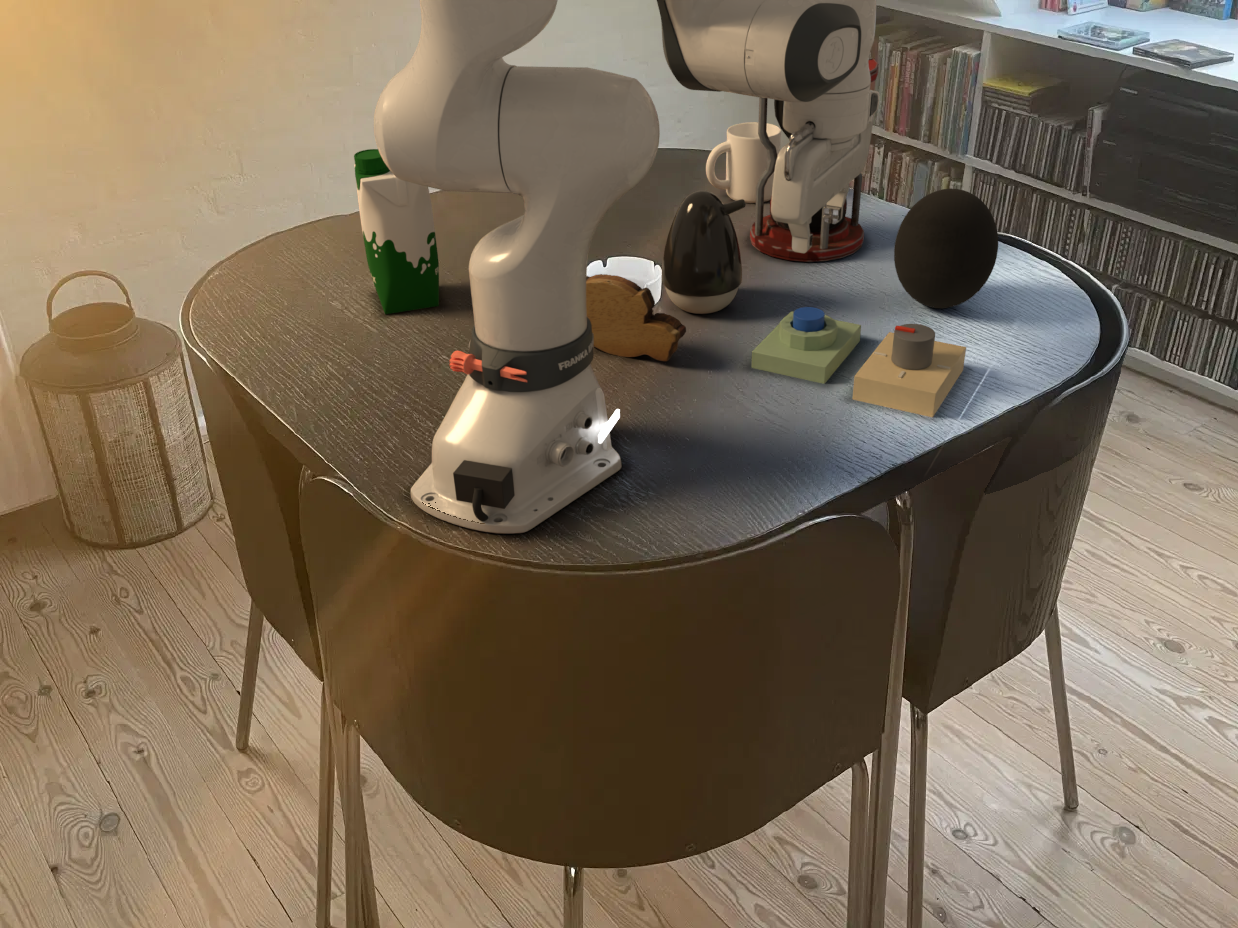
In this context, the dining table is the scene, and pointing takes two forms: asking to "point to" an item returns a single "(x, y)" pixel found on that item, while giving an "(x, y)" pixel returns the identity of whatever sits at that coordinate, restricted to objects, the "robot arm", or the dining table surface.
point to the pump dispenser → (702, 254)
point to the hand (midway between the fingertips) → (817, 235)
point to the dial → (913, 346)
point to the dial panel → (908, 379)
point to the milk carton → (397, 236)
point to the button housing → (806, 349)
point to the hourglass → (826, 236)
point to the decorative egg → (946, 248)
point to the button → (808, 319)
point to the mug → (744, 161)
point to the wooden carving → (629, 319)
